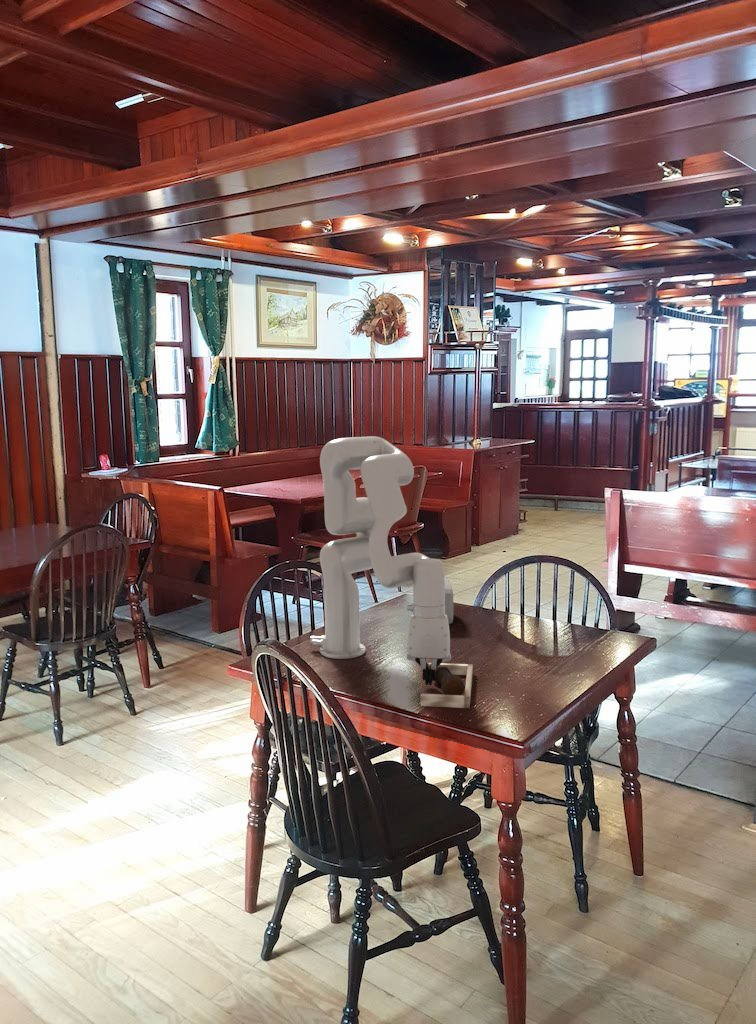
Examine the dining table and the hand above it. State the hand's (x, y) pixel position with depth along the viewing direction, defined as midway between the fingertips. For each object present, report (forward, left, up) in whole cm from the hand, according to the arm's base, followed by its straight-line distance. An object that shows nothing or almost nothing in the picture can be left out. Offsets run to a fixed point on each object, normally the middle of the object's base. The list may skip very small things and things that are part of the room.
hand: (428, 683), depth 199 cm
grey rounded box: (-3, +57, -2) cm, 57 cm away
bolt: (+4, +2, -2) cm, 5 cm away
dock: (+4, 0, -1) cm, 4 cm away
